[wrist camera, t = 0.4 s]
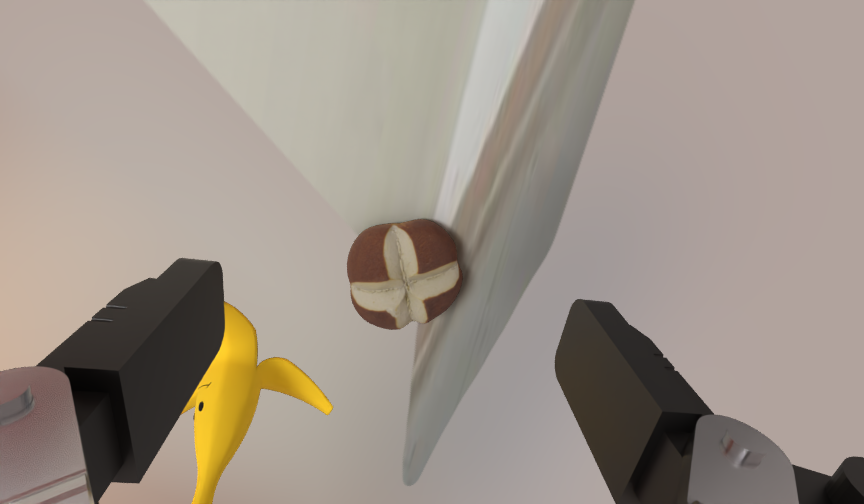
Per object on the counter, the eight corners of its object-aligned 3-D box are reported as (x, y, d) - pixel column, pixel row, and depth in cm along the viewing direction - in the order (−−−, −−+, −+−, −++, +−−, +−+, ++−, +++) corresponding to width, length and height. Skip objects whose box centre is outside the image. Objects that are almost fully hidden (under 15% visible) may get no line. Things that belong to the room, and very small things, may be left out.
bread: (352, 317, 46) (354, 350, 42) (342, 219, 40) (343, 246, 36) (456, 305, 48) (468, 336, 43) (461, 210, 42) (475, 235, 38)
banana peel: (146, 408, 47) (67, 591, 33) (212, 273, 40) (147, 429, 26) (295, 440, 54) (282, 601, 40) (371, 329, 47) (388, 476, 33)
